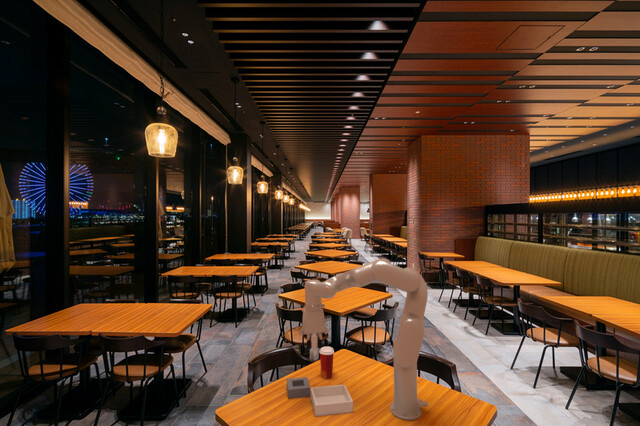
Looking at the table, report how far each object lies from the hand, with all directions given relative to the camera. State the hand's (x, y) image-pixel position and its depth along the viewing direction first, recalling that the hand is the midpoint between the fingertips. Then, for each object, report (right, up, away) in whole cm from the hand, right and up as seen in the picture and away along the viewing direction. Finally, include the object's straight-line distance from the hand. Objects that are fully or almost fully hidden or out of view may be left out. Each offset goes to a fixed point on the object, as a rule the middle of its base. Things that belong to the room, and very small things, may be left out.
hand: (314, 347), depth 143 cm
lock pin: (0, -5, 0) cm, 5 cm away
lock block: (-8, -23, +4) cm, 24 cm away
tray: (+7, -22, -6) cm, 24 cm away
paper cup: (+6, -23, +19) cm, 31 cm away
